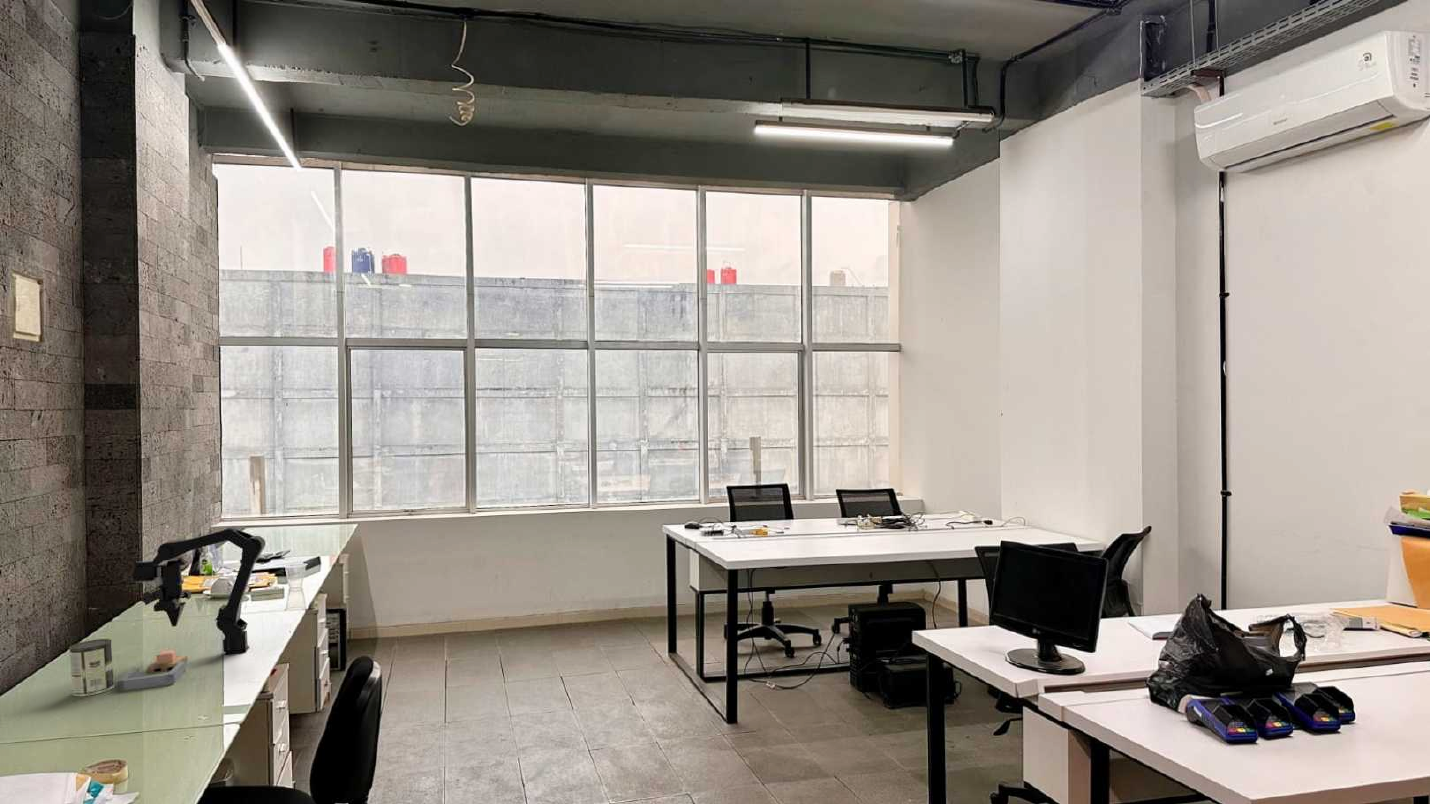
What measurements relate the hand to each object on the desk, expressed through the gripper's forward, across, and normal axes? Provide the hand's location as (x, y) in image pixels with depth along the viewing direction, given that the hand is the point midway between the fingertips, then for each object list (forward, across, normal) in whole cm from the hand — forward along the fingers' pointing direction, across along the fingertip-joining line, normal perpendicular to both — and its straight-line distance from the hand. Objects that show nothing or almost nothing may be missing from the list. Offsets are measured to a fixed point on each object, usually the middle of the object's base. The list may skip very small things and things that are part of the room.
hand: (174, 626), depth 289 cm
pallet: (+11, +9, 0) cm, 14 cm away
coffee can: (+11, +26, -15) cm, 32 cm away
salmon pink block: (+9, +10, 0) cm, 13 cm away
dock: (+11, +23, 0) cm, 25 cm away
